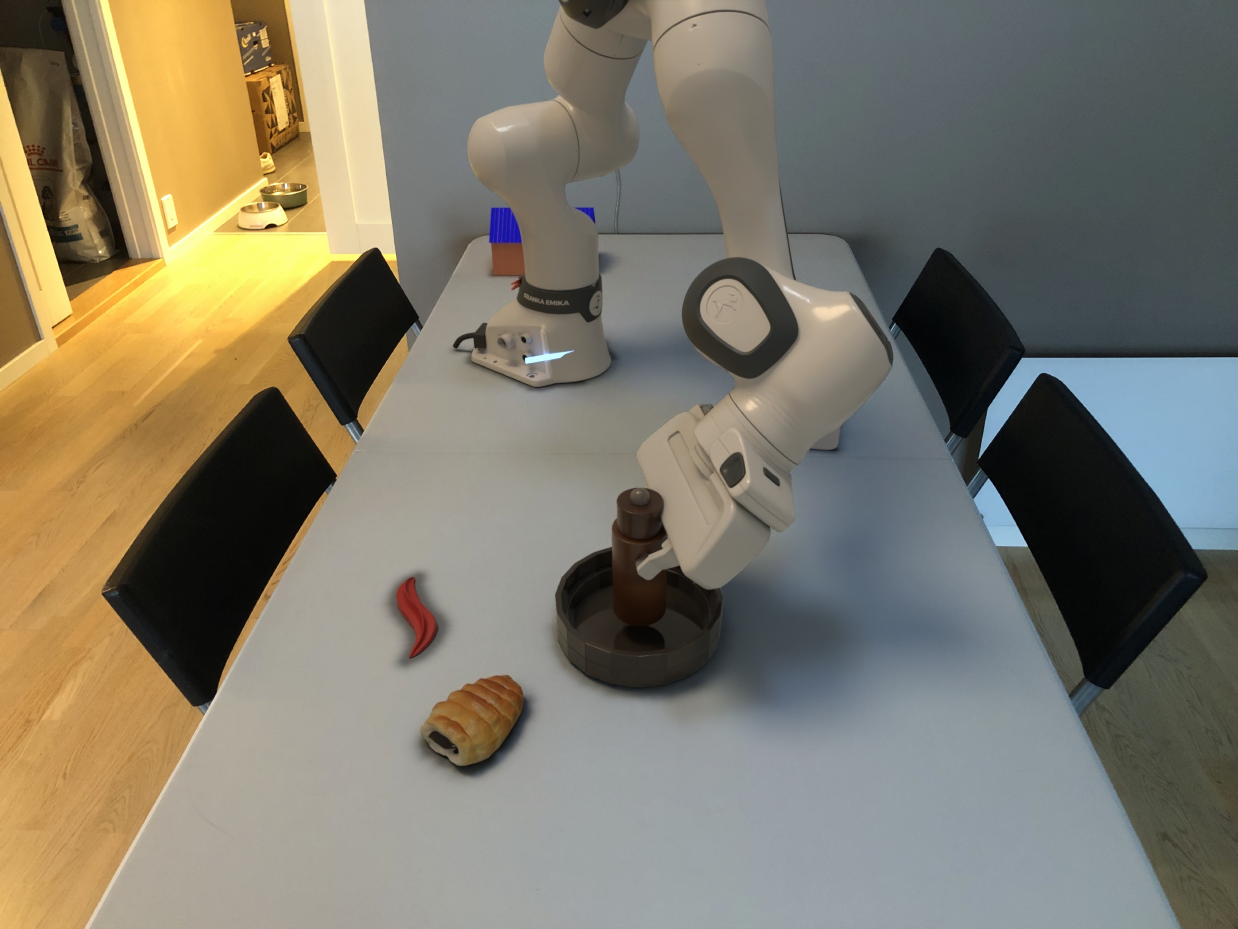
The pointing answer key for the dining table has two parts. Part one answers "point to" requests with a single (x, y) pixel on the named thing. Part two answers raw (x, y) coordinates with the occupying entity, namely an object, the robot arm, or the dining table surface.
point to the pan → (634, 627)
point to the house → (511, 241)
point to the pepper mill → (630, 539)
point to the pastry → (474, 719)
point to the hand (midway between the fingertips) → (633, 550)
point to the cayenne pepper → (416, 616)
